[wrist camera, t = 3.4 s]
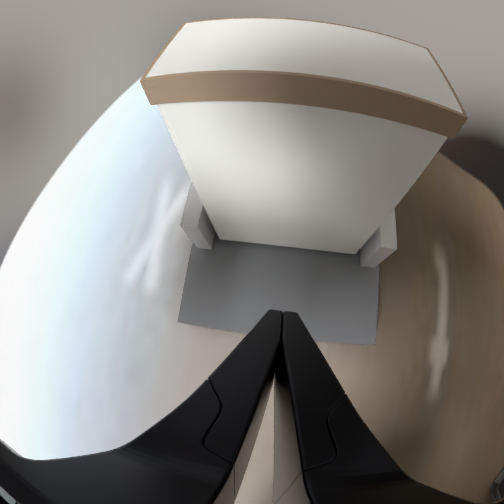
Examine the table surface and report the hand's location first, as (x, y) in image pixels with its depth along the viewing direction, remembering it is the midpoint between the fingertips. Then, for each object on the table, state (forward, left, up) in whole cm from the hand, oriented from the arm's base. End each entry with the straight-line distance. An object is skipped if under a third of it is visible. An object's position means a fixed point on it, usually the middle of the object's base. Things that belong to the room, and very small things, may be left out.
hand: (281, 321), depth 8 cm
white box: (+4, -4, -5) cm, 7 cm away
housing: (+4, -4, -7) cm, 9 cm away
